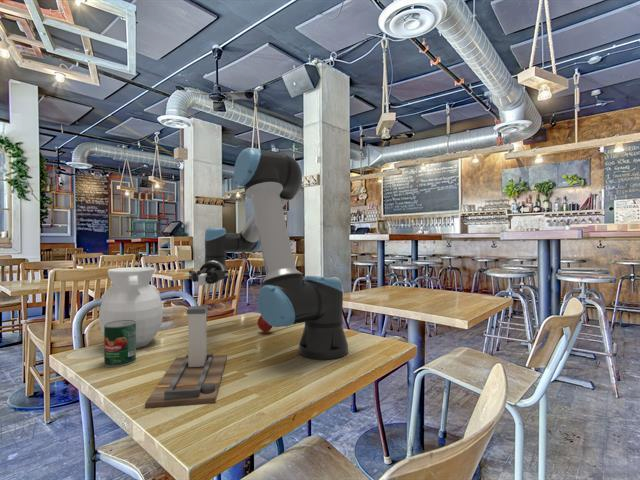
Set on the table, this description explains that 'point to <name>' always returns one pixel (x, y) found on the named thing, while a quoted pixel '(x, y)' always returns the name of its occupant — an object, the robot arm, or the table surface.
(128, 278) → the pitcher
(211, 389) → the brown board with rails
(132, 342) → the canned tomato
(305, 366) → the table surface
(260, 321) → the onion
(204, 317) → the grey rectangular block
